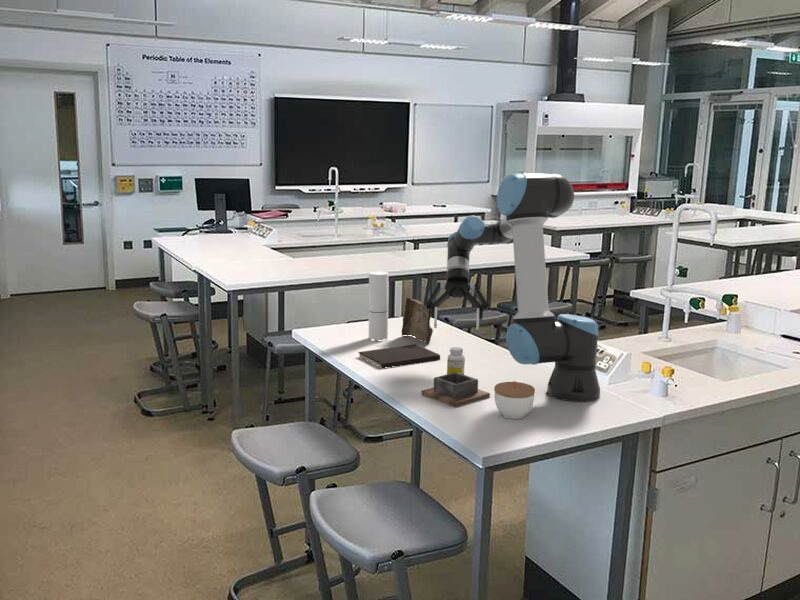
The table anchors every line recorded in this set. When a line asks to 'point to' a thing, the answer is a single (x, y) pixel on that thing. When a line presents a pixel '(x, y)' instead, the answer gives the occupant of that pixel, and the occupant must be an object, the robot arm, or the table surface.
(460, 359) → the supplement bottle
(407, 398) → the table surface
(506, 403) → the lidded jar
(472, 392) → the wooden square holder
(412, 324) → the mineral sample
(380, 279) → the cylindrical container
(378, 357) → the hardcover book
